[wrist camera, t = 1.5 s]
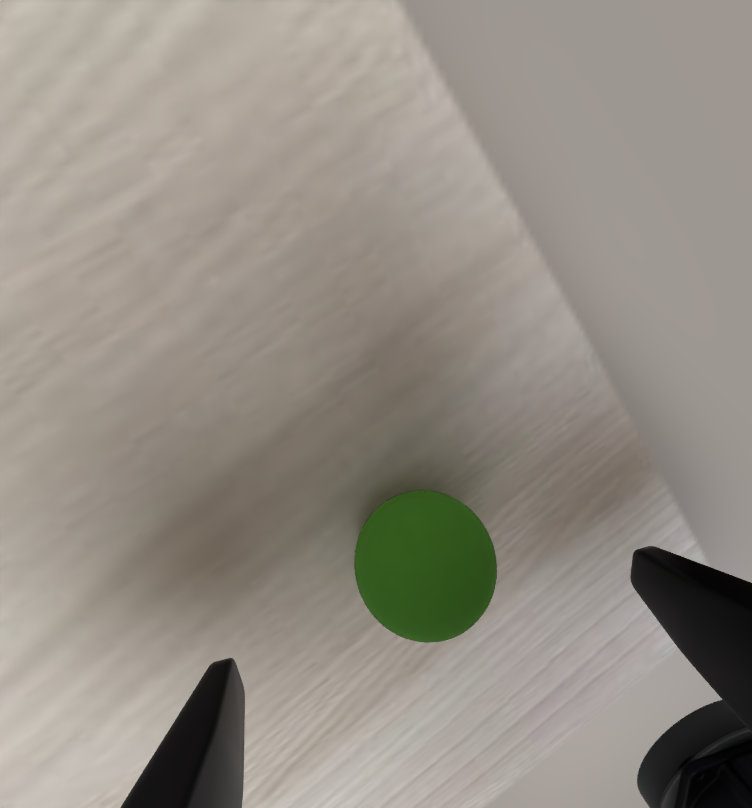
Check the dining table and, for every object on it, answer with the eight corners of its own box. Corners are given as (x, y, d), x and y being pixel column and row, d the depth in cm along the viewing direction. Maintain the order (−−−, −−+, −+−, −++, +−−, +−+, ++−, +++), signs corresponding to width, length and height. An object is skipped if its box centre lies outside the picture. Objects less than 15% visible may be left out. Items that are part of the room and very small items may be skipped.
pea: (465, 555, 13) (525, 654, 9) (355, 583, 12) (378, 698, 9) (459, 455, 11) (526, 529, 8) (336, 481, 11) (356, 571, 8)
